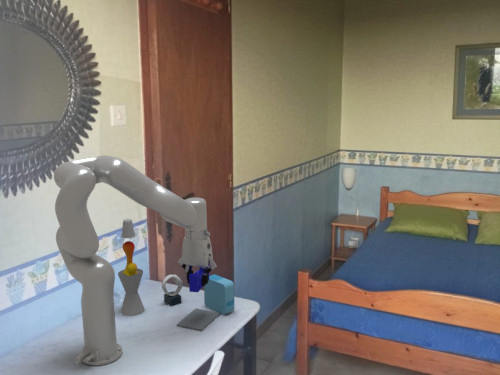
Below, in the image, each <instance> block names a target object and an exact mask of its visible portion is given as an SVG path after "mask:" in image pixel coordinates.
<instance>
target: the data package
mask: <svg viewBox="0 0 500 375" xmlns="http://www.w3.org/2000/svg"><path fill="white" fill-rule="evenodd" d="M203 291H204V292H203V293H204V297H203V298H204V306H205V307H206V308H207V309H209V310H211V311H213V312H219V313H220V315H224V316H225V315H227V314H230V313H232V312H234V311H235V284H234V282H233V281H232V280H230V279H228V278H225V277H222V276H220V275H217V274H215V273H214V274H210V275H209V281H208V284H206V285H205V286H203Z"/></svg>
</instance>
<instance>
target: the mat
mask: <svg viewBox="0 0 500 375" xmlns="http://www.w3.org/2000/svg"><path fill="white" fill-rule="evenodd" d="M220 315H221V314H220V313H219V312H216V311H214V310H208V309H204V308H203V309H202V308H197V307H196V308H194V309H193V310H192V311H191V312H189V313H188V314H187V315H186V316H185V317H184V318H182V319H181V320H180V321H178V322H177V324H176V325H175V326H176V327H180V328H183V329H189V330H194V331H199V332H202V331H204V330H205V329H206V328H207V327H208V326H210V324H212V323H213V322H214V321H215V319H216V318H218V317H219V316H220Z"/></svg>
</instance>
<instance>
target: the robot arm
mask: <svg viewBox="0 0 500 375" xmlns="http://www.w3.org/2000/svg"><path fill="white" fill-rule="evenodd" d="M53 180H54V182H55V185H57V187H58V188H59V189H60V190H59V191H58V194H57V197H56V199H55V203H54V210H55V215H56V218H57V222H58V225H59V226H58V227H57V231H56V234H55V243H56V245H57V248H58V250H59V253H60V255H61V257H62V260H63V263H64V264H65V266H66V268H67V271H68V273H69V275H71V277H72V278H74V280H76V281H77V282H78V283H80V285H81V286H82V291H81V292H82V293H81V298H80V304H81V305H80V308H81V317H82V318H81V320H82V329H83V330H82V331H83V342H84V344H83V345H84V346H82V348H81V349H82V350H81V352H80V353H79V355H76V356H75V357H74V359H73V360H74V362H75V364H80V363H81V362H82V363H83V364H85V365H89V366H104V365H107V364H111V363H113V362H114V361H117V360H118V359H119V358H121V356H122V354H123V347H122V346H121V344H119V343H118V342H117V328H116V314H115V313H116V312H115V311H116V310H115V300H114V299H115V298H114V296H115V295H114V292H115V291H114V290H115V289H114V288H115V281H116V275H115V269H114V268H113V265H112V264H111V263H110V262H109V261H108V260H107V259H105V258H103V257H102V256H100V255H98V254H97V252H98V251H99V247H100V239H99V236H98V234H97V232H96V229H95V227H94V225H93V222H92V220H91V217H90V214H89V211H88V207H87V206H88V201H89V197H90V195H91V194H92V192H93V191H94V189H95V187H96V185H97V184H100V183H104V184H106V185H109V186H111V188H113V189H115V190H117V191H118V192H120V193H122V194H123V195H125V197H128V198H129V199H131V200H132V201H134V202H135V203H136V204H139V205H141V206H143V207H144V208H147V209H150V210H153V211H155V212H156V213H157V212H158V213H159V215H160V217H161V218H162V219H163V220H164V221H166V222H168V223H170V224H173V225H176V226H178V227H181V228H184V237H183V240H182V246H181V247H182V248H181V257H180V258H179V259H178V260H177V263H178V264H179V265H180V266H181V267H182V268H183V269H184V272H185V273H186V280H187V282H186V283H187V284H188V285H189V274H190V273H192V274H194V270H193V267H197V268H200V267H201V269H202V272H203V275H202V286H203V287H204V286H205V285H206V284H208V281H209V280H208V273H209V274H210V272H212V271H213V270H214V269H215V268H217V264H216V262H215V260H214V259H213V257H214V256H213V248H212V243H211V239H210V236H211V232H210V231H208V217H207V212H208V211H207V201H206V199H204V198H202V197H189V198H186V199H183V198H182V197H181V196H179V195H177V194H175V193H174V192H172V191H171V190H169V189H168V188H165V187H164V186H163V185H162V184H159V183H157V182H156V181H154V180H153V179H151V178H150V177H148V176H147V174H144V173H142V171H140V170H139V169H137V168H136V167H134V166H133V165H131V164H130V163H128V162H127V161H125V160H124V159H121V158H119V157H115V156H111V155H98V156H94V157H92V156H91V157H87V158H82V159H76V160H70V161H66V162H62V163H60V164H59V165H58V166H57V167H56V169H55V170H54V173H53ZM208 264H209V267H208Z"/></svg>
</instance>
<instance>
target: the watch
mask: <svg viewBox="0 0 500 375" xmlns="http://www.w3.org/2000/svg"><path fill="white" fill-rule="evenodd" d="M171 278H172V280H173V282H174V283H175V284H176V285H177V288H176V289H175V291H168V290H167V287H166V283H167V282H168V281H169V280H170V279H171ZM183 285H184V283H183V281H182V279H181V278H180V277H179V276H178V275H176V274H168V275H166V276H165V277H164V278H163V280H162V282H161V288H162V291H163V292H164V293H163V302H164V303H166V304H167V305H169V306H170V307H174V306H176V305H177V306H178V305H180V304H182V296H181V295H180V292H181V290H182V288H183Z"/></svg>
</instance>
